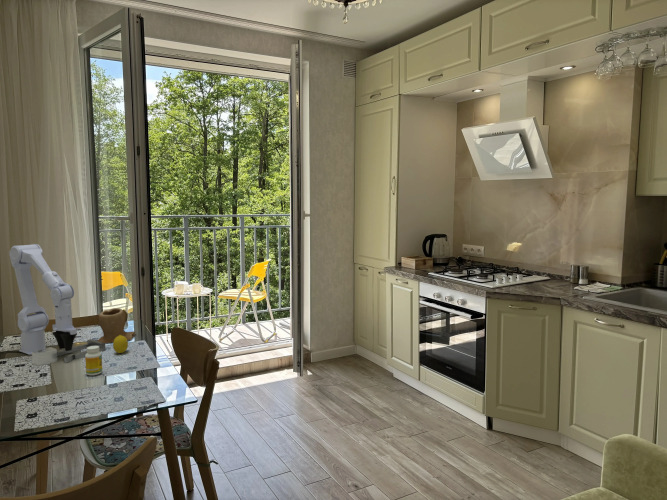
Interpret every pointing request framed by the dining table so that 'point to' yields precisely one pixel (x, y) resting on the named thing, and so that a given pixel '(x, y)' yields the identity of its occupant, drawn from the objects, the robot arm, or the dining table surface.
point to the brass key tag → (79, 343)
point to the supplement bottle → (93, 361)
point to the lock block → (44, 356)
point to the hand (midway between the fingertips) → (65, 349)
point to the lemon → (120, 344)
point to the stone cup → (113, 325)
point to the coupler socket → (80, 347)
